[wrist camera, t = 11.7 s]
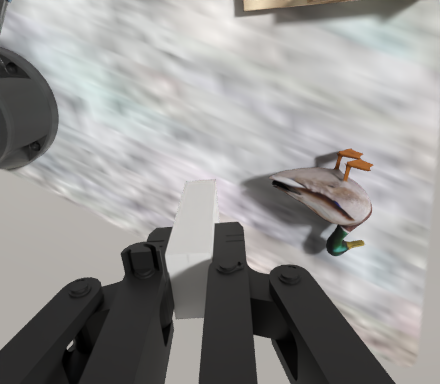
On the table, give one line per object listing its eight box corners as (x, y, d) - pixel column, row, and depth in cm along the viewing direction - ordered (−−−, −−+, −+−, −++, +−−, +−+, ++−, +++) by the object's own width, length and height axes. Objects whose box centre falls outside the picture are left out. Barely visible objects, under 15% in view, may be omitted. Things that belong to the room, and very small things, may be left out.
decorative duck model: (368, 274, 47) (258, 266, 46) (349, 240, 54) (253, 232, 53) (409, 174, 40) (279, 163, 39) (381, 149, 47) (270, 139, 46)
